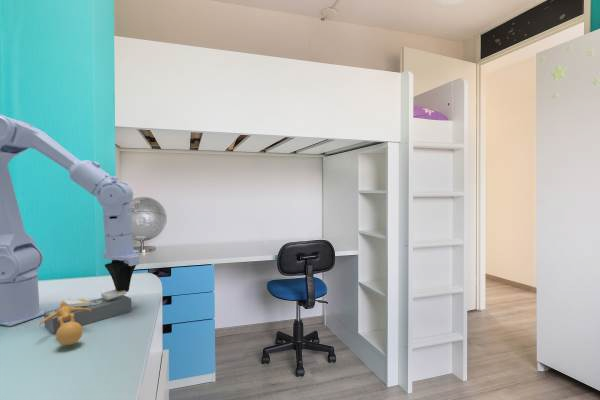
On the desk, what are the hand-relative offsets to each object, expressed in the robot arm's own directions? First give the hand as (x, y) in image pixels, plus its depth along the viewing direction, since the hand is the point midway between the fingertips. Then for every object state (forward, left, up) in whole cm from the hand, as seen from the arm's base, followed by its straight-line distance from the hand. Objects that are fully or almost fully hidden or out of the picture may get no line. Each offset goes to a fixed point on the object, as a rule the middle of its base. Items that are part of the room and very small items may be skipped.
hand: (123, 292), depth 79 cm
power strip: (-3, -7, -4) cm, 8 cm away
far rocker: (-1, -2, 0) cm, 2 cm away
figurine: (+7, -18, -4) cm, 20 cm away
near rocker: (-3, -9, 0) cm, 10 cm away
